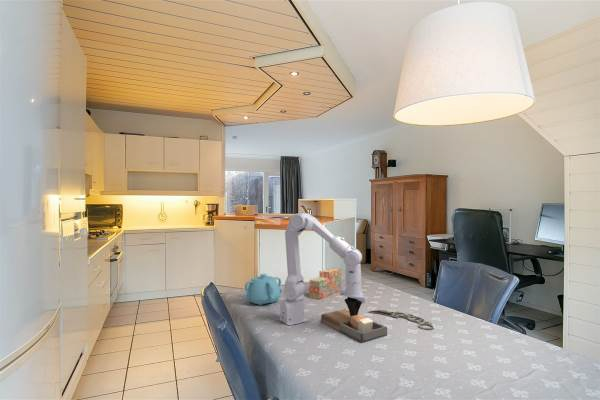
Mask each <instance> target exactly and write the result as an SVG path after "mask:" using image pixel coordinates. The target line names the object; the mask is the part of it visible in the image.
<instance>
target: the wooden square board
mask: <svg viewBox="0 0 600 400" xmlns="http://www.w3.org/2000/svg"><path fill="white" fill-rule="evenodd" d="M320 317H321V318H320V319H321V322H322V323H323V324H325V325H326V326H329V327H330V328H332V329H334V330H335V331H338V332H340V323H343V324H345V325H347V326H349V327H353V325H352V324H351V323H350V320H351V316H350V313H349V309H345V308H344V309H339V310H335V311H330V312H326V313H321V315H320Z"/></svg>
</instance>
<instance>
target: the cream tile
mask: <svg viewBox="0 0 600 400" xmlns="http://www.w3.org/2000/svg"><path fill="white" fill-rule="evenodd" d="M364 318H365V319H361V320H359V324H358V331H359V332H361V333H363V332H367V331H371V330H372V326H373V321H374V320H372V319H371V318H370V317H364Z"/></svg>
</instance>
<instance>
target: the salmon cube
mask: <svg viewBox="0 0 600 400" xmlns="http://www.w3.org/2000/svg"><path fill="white" fill-rule="evenodd" d="M365 318H366V317H364V316H363V315H361V314H359V313H358V315H355V316H351V320H350V323H351V324H352V325H353V326H355V327H356V328H357V329H358V324H359V320H361V319H365Z"/></svg>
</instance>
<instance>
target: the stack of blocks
mask: <svg viewBox="0 0 600 400" xmlns="http://www.w3.org/2000/svg"><path fill="white" fill-rule="evenodd" d="M318 271H319V270H318ZM340 290H342V269H341V268H335V267H331V268H325V269H322V270H320V271H319V275H318V277H315V278H312V279H309V290H308V291H309V298H310V299H314V300H322V299H325V298H327V297H330V296H332V295H335V294H337V293H340Z"/></svg>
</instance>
